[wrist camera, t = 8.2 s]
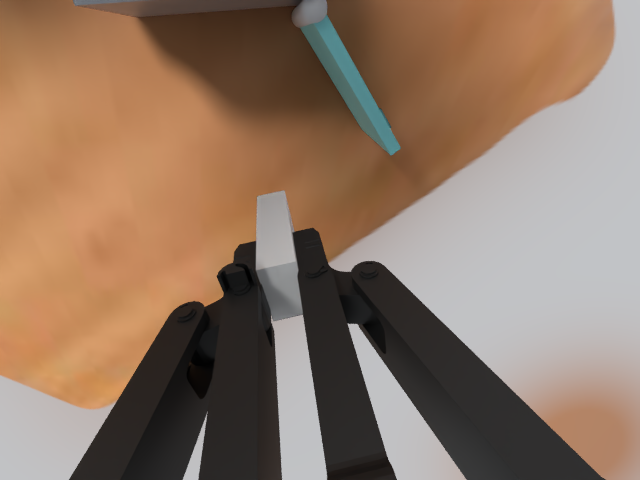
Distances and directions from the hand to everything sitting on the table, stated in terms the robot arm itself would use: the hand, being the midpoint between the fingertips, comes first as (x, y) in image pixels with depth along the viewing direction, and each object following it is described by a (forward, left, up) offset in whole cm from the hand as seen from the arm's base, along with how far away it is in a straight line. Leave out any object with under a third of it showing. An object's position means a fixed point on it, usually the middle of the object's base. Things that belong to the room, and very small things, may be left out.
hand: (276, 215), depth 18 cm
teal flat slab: (-5, +7, -19) cm, 21 cm away
